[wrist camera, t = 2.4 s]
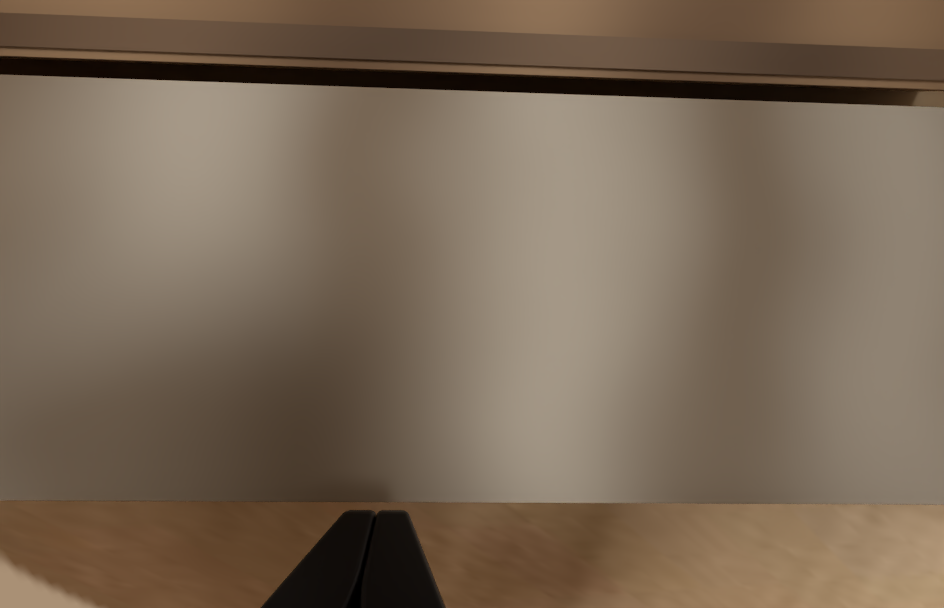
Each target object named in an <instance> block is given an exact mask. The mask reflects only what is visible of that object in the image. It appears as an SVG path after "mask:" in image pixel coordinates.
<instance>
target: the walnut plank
mask: <svg viewBox="0 0 944 608" xmlns="http://www.w3.org/2000/svg"><path fill="white" fill-rule="evenodd" d="M0 58H17V59H44V60H72V61H100V62H128V63H156V64H183V65H211V66H239V67H267V68H294V69H322V70H350V71H378V72H406V73H433V74H461V75H489V76H517V77H545V78H572V79H600V80H628V81H656V82H683V83H711V84H739V85H767V86H795V87H822V88H850V89H878V90H906V91H944V0H0Z"/></svg>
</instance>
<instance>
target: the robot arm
mask: <svg viewBox="0 0 944 608" xmlns="http://www.w3.org/2000/svg"><path fill="white" fill-rule="evenodd" d="M261 608H446V607H445V605H444V602H443V600H442V597H441V595H440V592H439V590H438V587H437V585H436V582H435V579H434V577H433V574H432V572H431V569H430V567H429V564H428V562H427V559H426V556H425V554H424V551H423V549H422V546H421V544H420V541H419V539H418V536H417V533H416V531H415V528H414V526H413V523H412V521H411V518H410V516H409V514H408V513H407V512H406V511H403V510H382V511H380V512H378V514H377V515H376V513H375V512H374V511H372V510H349V511H346V512H344V513H343V514H342V515H341V516H340V517H339V519H338V520H337V521H336V522H335V523H334V524H333V525H332V527H331V528H330V529H329V530H328V531H327V532H326V533H325V535H324V536H323V537H322V538H321V539H320V540H319V541H318V543H317V544H316V545H315V546H314V547H313V548H312V549H311V551H310V552H309V553H308V554H307V555H306V556H305V557H304V559H303V560H302V561H301V562H300V563H299V564H298V565H297V567H296V568H295V569H294V570H293V571H292V572H291V573H290V575H289V576H288V577H287V578H286V579H285V580H284V581H283V583H282V584H281V585H280V586H279V587H278V588H277V589H276V591H275V592H274V593H273V594H272V595H271V596H270V597H269V599H268V600H267V601H266V602H265V603H264V604H263V606H262V607H261Z"/></svg>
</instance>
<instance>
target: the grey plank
mask: <svg viewBox="0 0 944 608" xmlns="http://www.w3.org/2000/svg"><path fill="white" fill-rule="evenodd" d="M0 500H19V501H245V502H471V503H697V504H924V505H944V107H918V106H890V105H861V104H832V103H803V102H775V101H746V100H717V99H688V98H660V97H631V96H602V95H574V94H545V93H516V92H487V91H459V90H430V89H401V88H372V87H344V86H315V85H286V84H258V83H229V82H200V81H171V80H143V79H114V78H85V77H56V76H28V75H0Z"/></svg>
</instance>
